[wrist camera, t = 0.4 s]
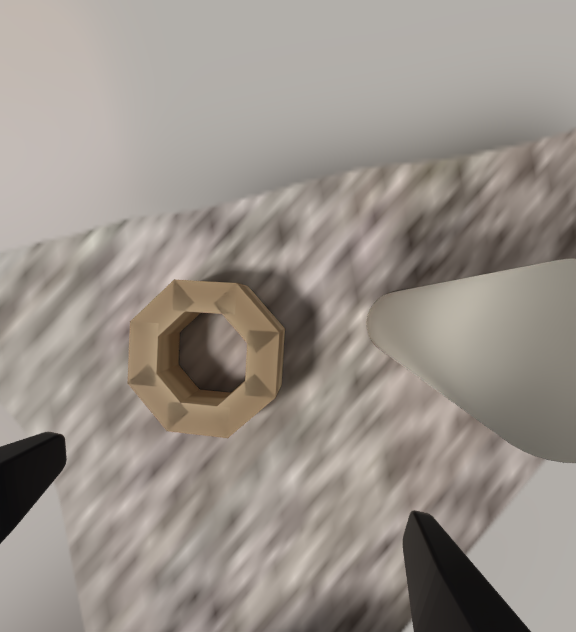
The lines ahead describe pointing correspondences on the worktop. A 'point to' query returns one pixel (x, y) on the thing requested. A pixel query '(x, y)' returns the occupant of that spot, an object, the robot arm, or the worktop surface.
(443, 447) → the worktop surface
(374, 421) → the worktop surface
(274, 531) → the worktop surface
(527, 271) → the dowel
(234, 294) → the tan open ring
